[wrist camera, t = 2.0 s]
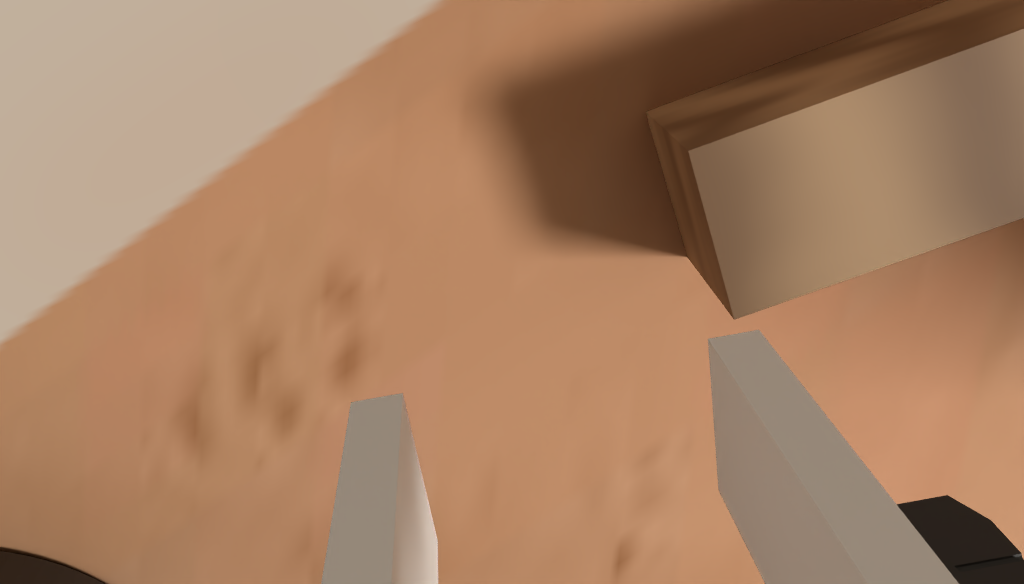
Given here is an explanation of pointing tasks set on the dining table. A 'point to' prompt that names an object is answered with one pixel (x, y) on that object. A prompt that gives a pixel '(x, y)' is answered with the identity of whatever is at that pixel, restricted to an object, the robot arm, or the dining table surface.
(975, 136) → the wooden slab
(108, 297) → the dining table surface
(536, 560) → the dining table surface
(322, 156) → the dining table surface
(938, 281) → the dining table surface
